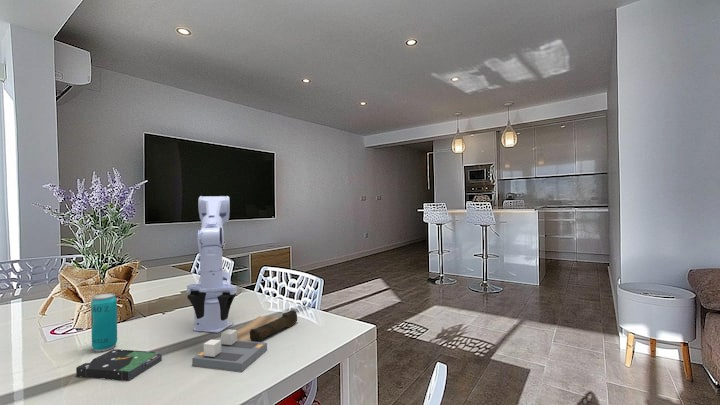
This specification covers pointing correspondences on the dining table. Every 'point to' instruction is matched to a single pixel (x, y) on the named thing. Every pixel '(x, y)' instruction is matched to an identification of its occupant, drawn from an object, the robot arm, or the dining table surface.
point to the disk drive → (119, 364)
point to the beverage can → (104, 322)
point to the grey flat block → (232, 356)
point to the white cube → (212, 348)
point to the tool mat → (253, 327)
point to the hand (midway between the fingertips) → (212, 318)
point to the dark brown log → (274, 326)
